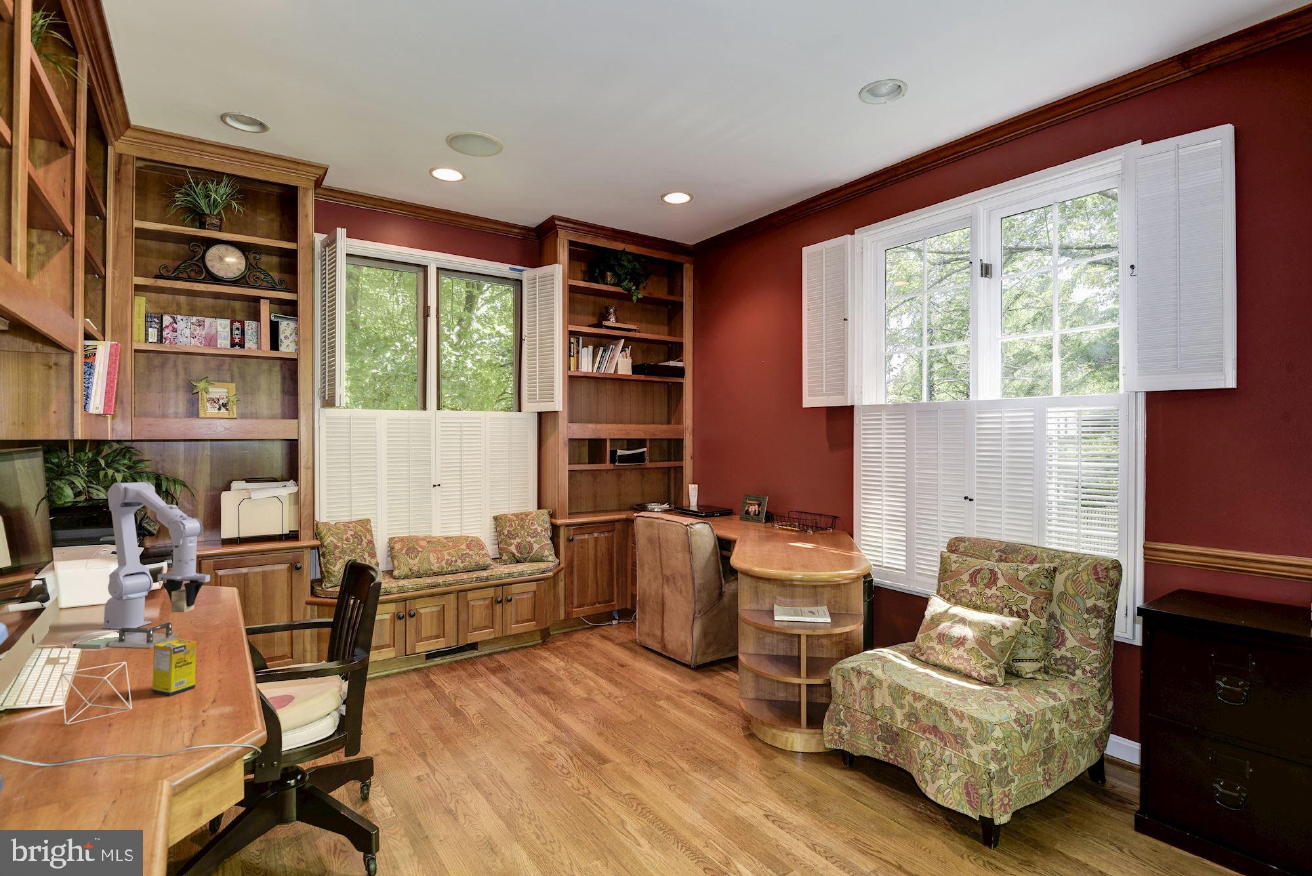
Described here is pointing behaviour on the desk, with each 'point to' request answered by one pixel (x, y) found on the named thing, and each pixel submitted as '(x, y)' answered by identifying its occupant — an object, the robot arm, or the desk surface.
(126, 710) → the geometric polyhedron
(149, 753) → the desk surface
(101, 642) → the pad
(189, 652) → the supplement box
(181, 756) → the desk surface
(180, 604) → the maple block
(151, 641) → the beige flat handled piece
